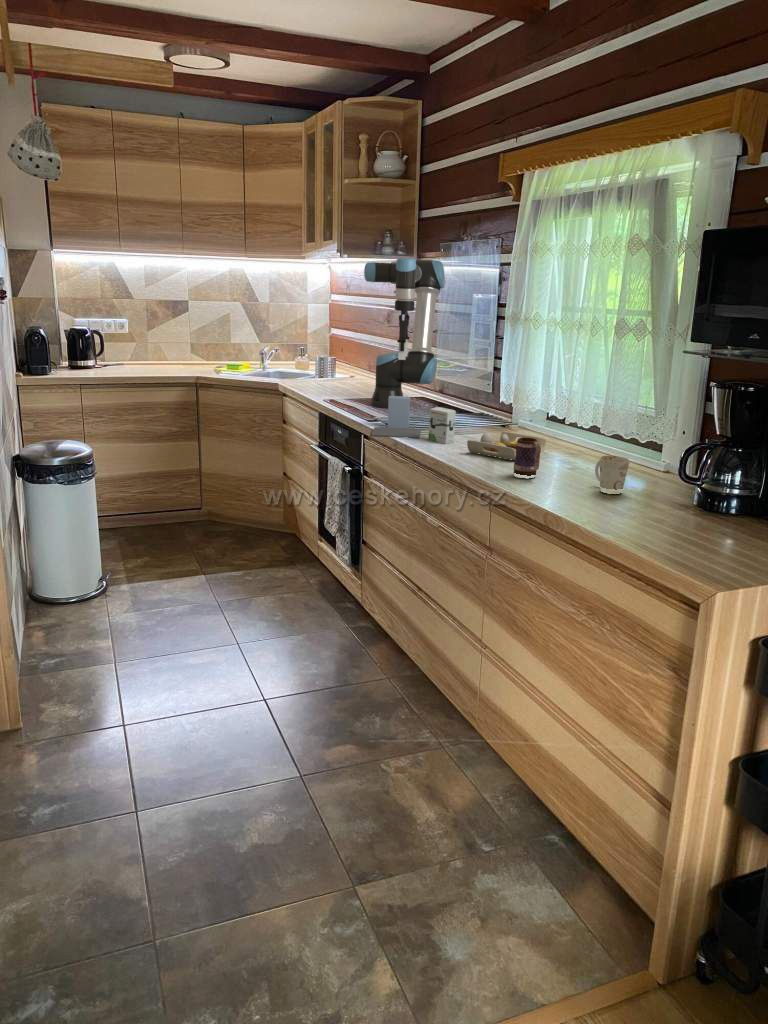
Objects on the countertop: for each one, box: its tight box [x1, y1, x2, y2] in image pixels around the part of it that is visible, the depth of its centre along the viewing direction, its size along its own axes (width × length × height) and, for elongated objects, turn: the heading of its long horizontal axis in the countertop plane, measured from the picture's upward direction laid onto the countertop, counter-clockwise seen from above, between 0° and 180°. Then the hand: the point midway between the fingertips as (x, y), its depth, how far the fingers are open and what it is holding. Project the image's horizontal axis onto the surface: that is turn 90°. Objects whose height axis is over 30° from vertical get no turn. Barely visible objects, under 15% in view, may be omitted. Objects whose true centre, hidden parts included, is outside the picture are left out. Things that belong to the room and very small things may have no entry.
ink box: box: [427, 406, 457, 445], centre depth 285 cm, size 9×5×12 cm, turn 47°
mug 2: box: [513, 437, 542, 476], centre depth 240 cm, size 10×7×12 cm
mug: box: [594, 455, 631, 490], centre depth 229 cm, size 8×13×10 cm, turn 24°
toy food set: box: [466, 430, 548, 460], centre depth 273 cm, size 25×18×8 cm
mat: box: [370, 426, 422, 439], centre depth 298 cm, size 14×18×1 cm
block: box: [387, 395, 411, 429], centre depth 306 cm, size 5×8×12 cm, turn 85°
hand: (402, 357), depth 311 cm, fingers open, 11 cm apart
